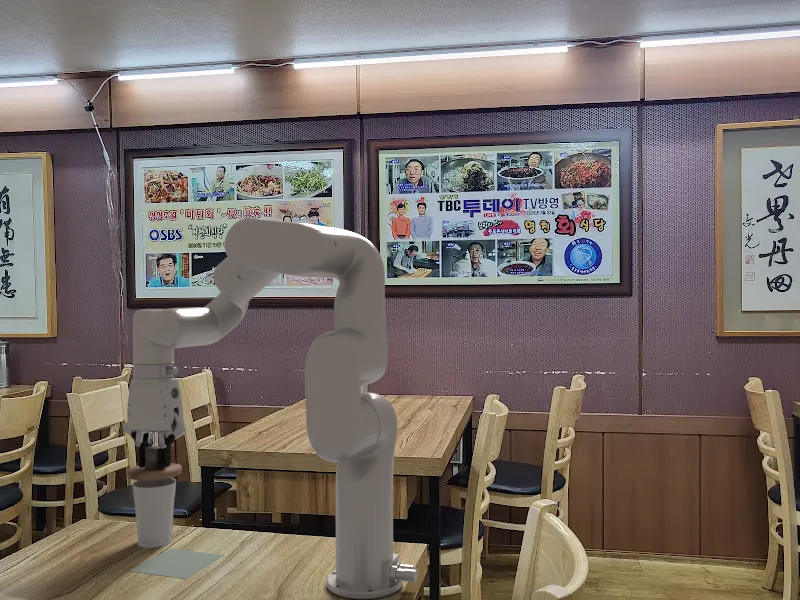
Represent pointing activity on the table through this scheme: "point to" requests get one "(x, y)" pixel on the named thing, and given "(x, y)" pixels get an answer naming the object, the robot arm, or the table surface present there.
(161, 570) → the mat
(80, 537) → the table surface
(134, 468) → the lid
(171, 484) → the cup
